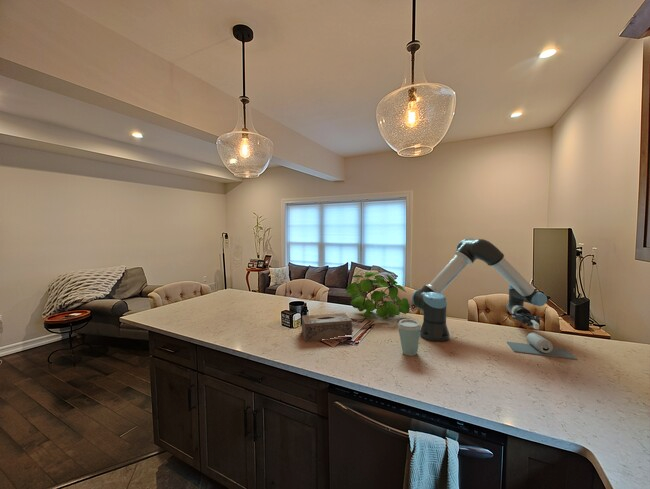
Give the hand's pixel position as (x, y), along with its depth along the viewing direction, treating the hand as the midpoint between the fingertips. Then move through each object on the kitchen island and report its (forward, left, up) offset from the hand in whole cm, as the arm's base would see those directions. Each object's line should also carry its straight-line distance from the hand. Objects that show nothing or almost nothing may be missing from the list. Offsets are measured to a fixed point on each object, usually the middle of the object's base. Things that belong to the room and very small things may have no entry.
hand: (537, 326), depth 133 cm
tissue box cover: (-104, -20, -11) cm, 106 cm away
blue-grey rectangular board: (0, -4, -10) cm, 11 cm away
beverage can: (-1, +3, -7) cm, 8 cm away
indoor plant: (-84, +28, -11) cm, 89 cm away
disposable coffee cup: (-59, -28, -11) cm, 66 cm away
